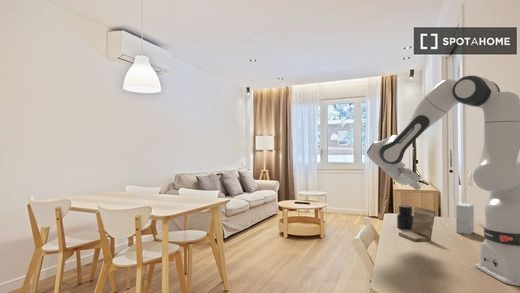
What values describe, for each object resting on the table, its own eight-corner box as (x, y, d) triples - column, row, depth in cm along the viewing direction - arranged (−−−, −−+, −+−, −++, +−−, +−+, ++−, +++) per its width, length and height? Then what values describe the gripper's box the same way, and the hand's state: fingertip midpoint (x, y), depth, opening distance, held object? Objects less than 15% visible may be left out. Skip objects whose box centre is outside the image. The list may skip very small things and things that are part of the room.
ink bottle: (416, 227, 173) (415, 205, 174) (414, 230, 166) (413, 208, 166) (397, 225, 179) (397, 204, 179) (395, 228, 171) (394, 206, 172)
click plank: (428, 239, 146) (432, 210, 147) (410, 233, 158) (415, 206, 159) (430, 240, 146) (435, 211, 147) (413, 234, 158) (417, 207, 159)
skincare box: (461, 230, 166) (461, 202, 167) (474, 232, 161) (474, 204, 162) (456, 232, 161) (455, 204, 161) (469, 235, 156) (468, 205, 157)
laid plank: (415, 241, 145) (414, 238, 145) (398, 235, 156) (398, 231, 156) (427, 240, 146) (427, 237, 146) (410, 234, 158) (410, 231, 158)
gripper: (407, 162, 139) (432, 183, 136) (393, 166, 159) (415, 184, 156) (398, 172, 138) (423, 193, 136) (385, 174, 158) (406, 193, 156)
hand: (418, 188), depth 146 cm, fingers closed
